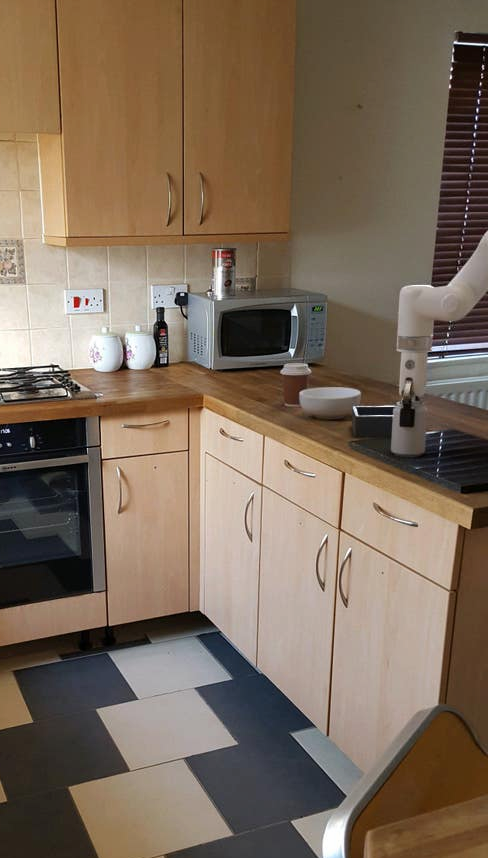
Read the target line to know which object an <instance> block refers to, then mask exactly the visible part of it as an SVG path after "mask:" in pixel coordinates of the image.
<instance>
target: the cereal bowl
mask: <svg viewBox="0 0 488 858" xmlns="http://www.w3.org/2000/svg"><path fill="white" fill-rule="evenodd" d="M299 399H300V405H301V406H300V407H301V409H302V410H303V411H304V412H305V413H307V414H308V415H312V416H314V417H315V418H316V419H319V420H339V419H343V418H345V416H347V415H351V414H352V406H360V404H361V399H362V392H361V391H360V390H358V389H356V388H352V387H351V388H350V387H341V386H340V387H339V386H337V387H336V386H329V387H326V386H325V387H313V388H308V389H306V390H303V391H301V392H300V393H299Z"/></svg>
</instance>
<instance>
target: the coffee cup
mask: <svg viewBox="0 0 488 858" xmlns="http://www.w3.org/2000/svg"><path fill="white" fill-rule="evenodd" d="M280 374H281V375H282V386H283V401H284V402H283V403H284V406H286V407H301V405H300V399H299V393H300V392H301V391H303V390H306V389H309V379H310V374H312V370H311V369H310V368H309V365H308V363H303V362H302V363H301V362H293V363H292V362H291V363H285V364H284V365H283V368H282V369H281V370H280Z"/></svg>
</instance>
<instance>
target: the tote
mask: <svg viewBox="0 0 488 858" xmlns="http://www.w3.org/2000/svg"><path fill="white" fill-rule="evenodd" d="M396 406H397V405H361V406H360V405H359V406H352V413H351V426H350V427H351V431H352V433H353V437H354V438H355V439H392V422H393V409H394V408H395V407H396Z"/></svg>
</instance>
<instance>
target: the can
mask: <svg viewBox="0 0 488 858" xmlns="http://www.w3.org/2000/svg"><path fill="white" fill-rule="evenodd" d="M401 402H402V400H401V401H397V402H396V403H395V404H396V405H395V406H396V407H395V408H394V409H393V422H392V438H391V439H390V440H391V443H390V451H391V452H392V454H393V455H395V456H397V457H401V458H403V457H404V458H415V457H420V456H422V455H423V454H424V453H425V452H426V442H427V441H426V440H427V425H428V413H429V412H428V409H427V407H426V406H425V405H426V402H424V401H421V400H420V401H415V405H414V409H415V423H414V427H400V426H399V421H400V409H401Z"/></svg>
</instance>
